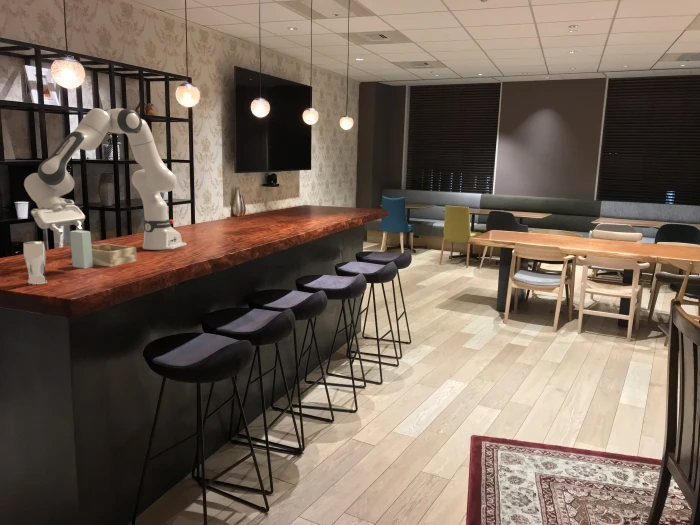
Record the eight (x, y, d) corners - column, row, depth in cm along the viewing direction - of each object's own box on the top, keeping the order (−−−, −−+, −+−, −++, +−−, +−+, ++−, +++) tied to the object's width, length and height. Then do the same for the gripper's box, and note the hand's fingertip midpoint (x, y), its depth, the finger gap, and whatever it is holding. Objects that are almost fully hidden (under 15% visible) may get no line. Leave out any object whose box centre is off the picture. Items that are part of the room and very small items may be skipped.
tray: (107, 259, 251) (106, 243, 250) (137, 263, 243) (136, 247, 242) (80, 264, 239) (79, 248, 237) (111, 269, 231) (109, 252, 230)
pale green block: (81, 265, 234) (78, 230, 231) (93, 267, 231) (90, 231, 228) (72, 267, 230) (69, 231, 227) (84, 269, 227) (81, 232, 224)
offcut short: (104, 249, 246) (103, 243, 245) (110, 250, 244) (110, 243, 244) (90, 252, 240) (90, 245, 239) (97, 253, 238) (96, 246, 237)
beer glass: (28, 285, 201) (23, 244, 198) (25, 282, 207) (21, 242, 204) (49, 283, 205) (46, 243, 202) (46, 279, 211) (43, 240, 208)
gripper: (31, 204, 221) (51, 230, 219) (76, 199, 239) (94, 224, 237) (25, 214, 224) (44, 240, 222) (69, 209, 242) (87, 233, 240)
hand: (70, 232), depth 230 cm, fingers open, 8 cm apart
